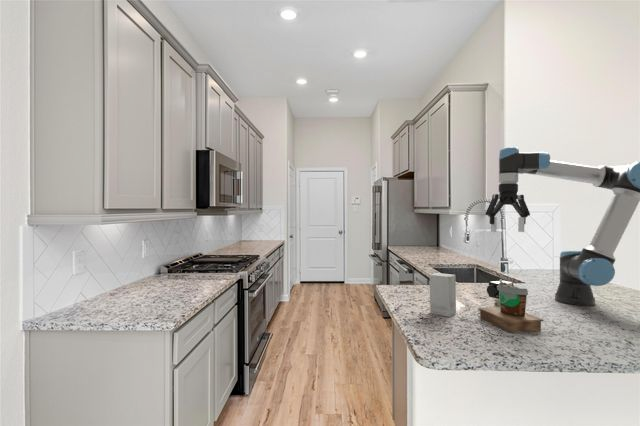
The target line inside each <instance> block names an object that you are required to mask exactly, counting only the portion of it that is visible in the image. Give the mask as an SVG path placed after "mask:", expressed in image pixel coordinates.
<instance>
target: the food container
mask: <svg viewBox="0 0 640 426" xmlns="http://www.w3.org/2000/svg"><path fill="white" fill-rule="evenodd" d="M497 290H499V295H500V308H501V312H502V313H503V314H506V315H511V316H518V317H525V313H526V304H527V298H528V297H527V296H528V295H529V291H528V288H520V287H517V286H515V285H514V286H509V285H506V282H502V283H499V285H498V288H497Z"/></svg>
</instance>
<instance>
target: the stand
mask: <svg viewBox="0 0 640 426" xmlns="http://www.w3.org/2000/svg"><path fill="white" fill-rule="evenodd" d="M478 310H479V311H480V315H479V318H480V320H482V321H484V322H487V323H489V324H490V323H491V325H493V326H495V327H497V328H499V329H501V330H503V331H505V332H507V333H524V332H525V333H526V332H527V333H529V332H541V331H542V322H544V319H542V318H540V317H538V316H535V315H532V314H530V313H526V312H525V317H518V316H511V315H506V314H503V313H502V312H501V308H500V307H494V306H493V307H492V306H489V307H485V306H484V307H478Z"/></svg>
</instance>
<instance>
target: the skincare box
mask: <svg viewBox="0 0 640 426" xmlns="http://www.w3.org/2000/svg"><path fill="white" fill-rule="evenodd" d="M456 282H457V281H456V274H449V273H441V272H440V273H439V272H436V273H432V274H430V275H429V305H430V306H429V308H430V309H429V310H430V311H429V312H430V314H432V315H438V316H443V317H447V318H451V317H452V316H455V315H456V314H457V297H456V295H457V290H456V289H457V288H456V285H457V284H456Z"/></svg>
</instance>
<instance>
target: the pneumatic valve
mask: <svg viewBox="0 0 640 426" xmlns="http://www.w3.org/2000/svg"><path fill="white" fill-rule="evenodd" d="M502 282H506V285H509V286H515V285H514V282H513V281H508V280H507V281H506V280H503V279H499V280H496V281H495V280H494V281H488V285H487V287H486V294H488V297H489V298H492V299H494V303H493V307H500V295H499V290H497V288H498V285H499V283H502Z"/></svg>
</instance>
